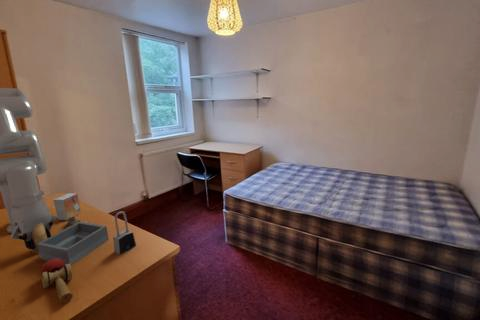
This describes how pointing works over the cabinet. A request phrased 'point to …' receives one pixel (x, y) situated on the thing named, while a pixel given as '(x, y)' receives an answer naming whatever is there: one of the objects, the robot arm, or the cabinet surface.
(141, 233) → the cabinet surface
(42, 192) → the robot arm
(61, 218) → the small box
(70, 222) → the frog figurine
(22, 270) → the cabinet surface
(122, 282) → the cabinet surface
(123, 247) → the padlock
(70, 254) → the peg box
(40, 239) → the peg
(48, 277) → the kendama
